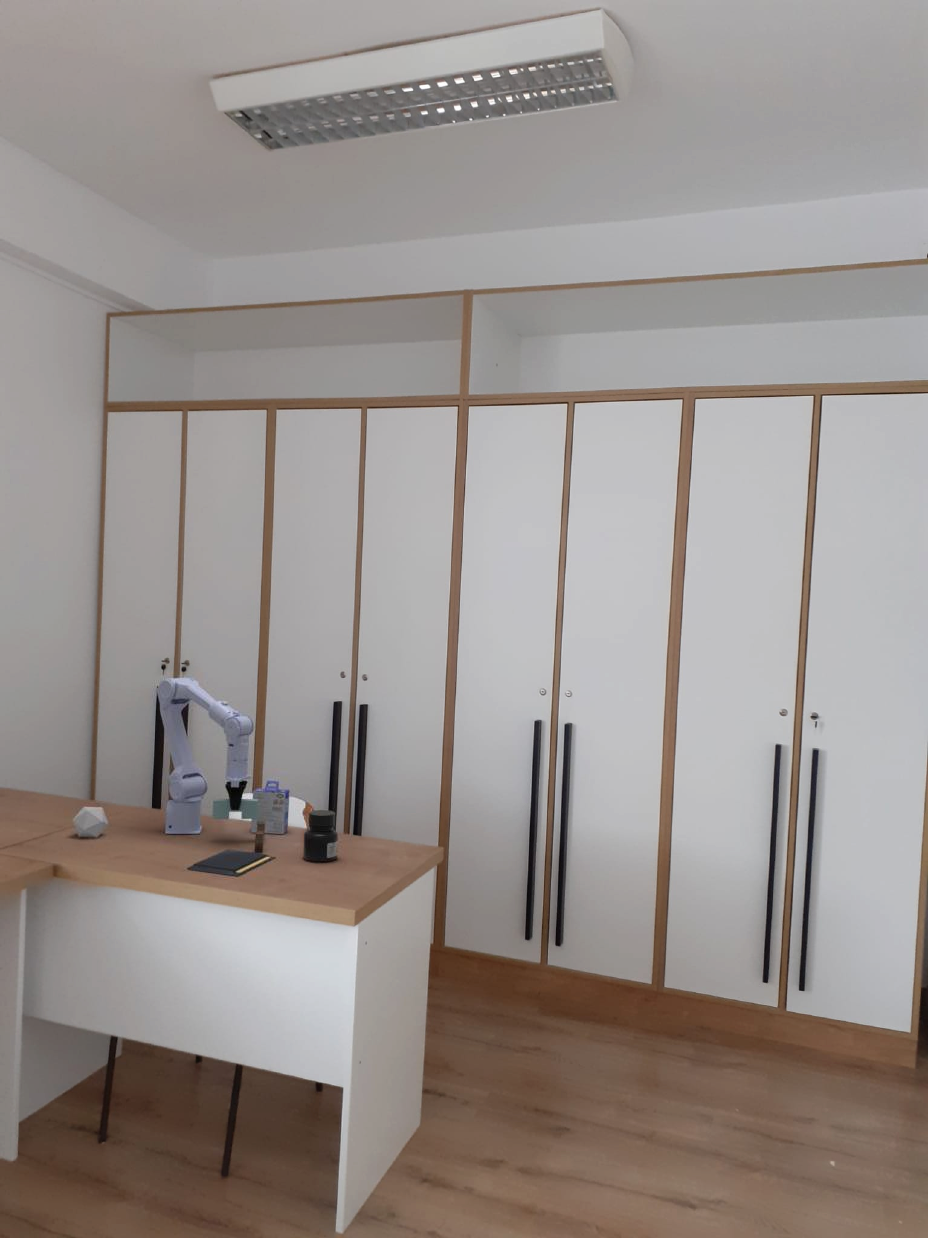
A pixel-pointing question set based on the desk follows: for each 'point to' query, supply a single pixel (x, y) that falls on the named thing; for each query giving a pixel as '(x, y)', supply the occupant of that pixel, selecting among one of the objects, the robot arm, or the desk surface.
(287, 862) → the desk surface
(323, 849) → the ink bottle
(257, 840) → the rail
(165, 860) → the desk surface
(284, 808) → the ink cartridge box
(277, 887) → the desk surface
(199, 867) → the wallet
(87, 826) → the die
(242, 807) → the teal curved block
